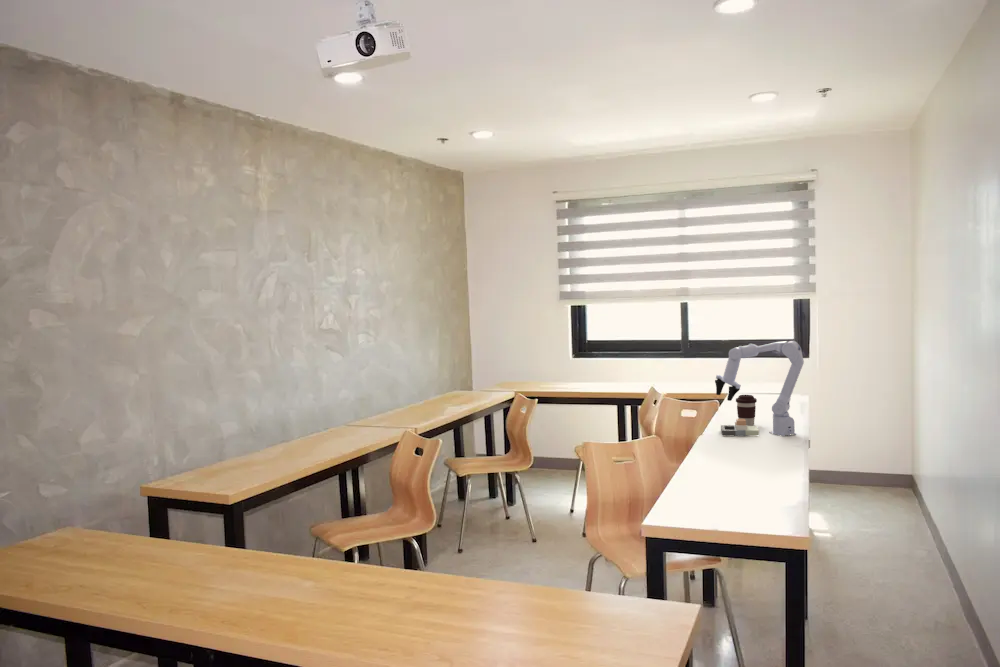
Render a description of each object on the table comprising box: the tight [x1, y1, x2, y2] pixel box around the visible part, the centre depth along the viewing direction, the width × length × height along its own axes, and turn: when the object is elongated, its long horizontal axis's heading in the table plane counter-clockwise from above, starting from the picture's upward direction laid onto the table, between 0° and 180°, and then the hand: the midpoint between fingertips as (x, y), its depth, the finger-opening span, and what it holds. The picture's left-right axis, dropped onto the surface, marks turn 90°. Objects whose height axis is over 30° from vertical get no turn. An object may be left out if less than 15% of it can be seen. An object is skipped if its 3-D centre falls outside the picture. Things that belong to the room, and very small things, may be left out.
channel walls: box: [734, 421, 747, 430], centre depth 352 cm, size 5×9×2 cm, turn 166°
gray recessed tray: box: [720, 424, 747, 437], centre depth 353 cm, size 10×13×2 cm
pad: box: [745, 425, 760, 435], centre depth 351 cm, size 6×11×2 cm, turn 166°
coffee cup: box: [735, 394, 758, 426], centre depth 370 cm, size 10×10×15 cm
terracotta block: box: [735, 418, 746, 425], centre depth 352 cm, size 4×5×4 cm
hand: (723, 397), depth 361 cm, fingers open, 7 cm apart
